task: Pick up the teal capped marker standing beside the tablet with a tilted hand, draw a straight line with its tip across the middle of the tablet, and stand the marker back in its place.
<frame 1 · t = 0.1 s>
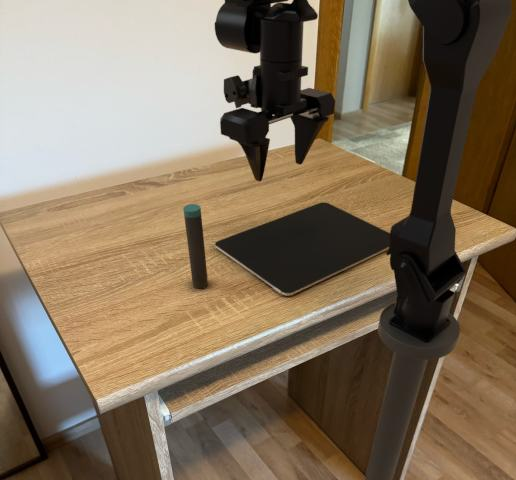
hand: (279, 171, 76), 13 cm above the table, tool pointing down, fingers open, 9 cm apart
teal capped marker: (200, 285, 76), on the table
tablet: (307, 245, 85), on the table
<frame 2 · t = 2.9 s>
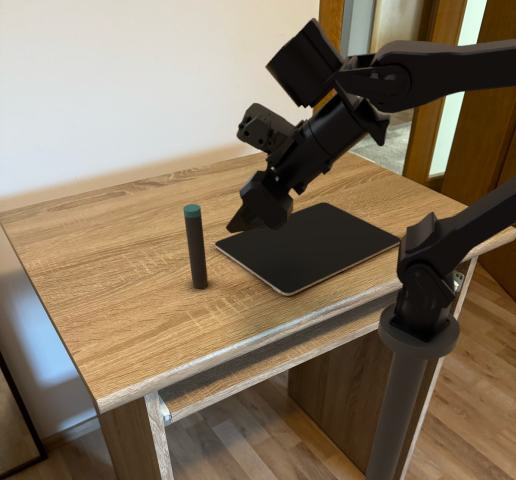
hand: (238, 214, 67), 13 cm above the table, tool tilted 45°, fingers open, 9 cm apart
nothing on the table moved.
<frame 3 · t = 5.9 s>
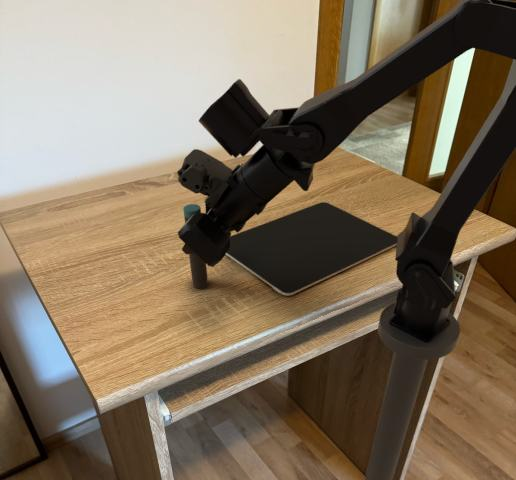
hand: (187, 247, 72), 7 cm above the table, tool tilted 45°, fingers closed on teal capped marker, 2 cm apart
teal capped marker: (200, 285, 76), on the table, touching gripper
everything else where it was.
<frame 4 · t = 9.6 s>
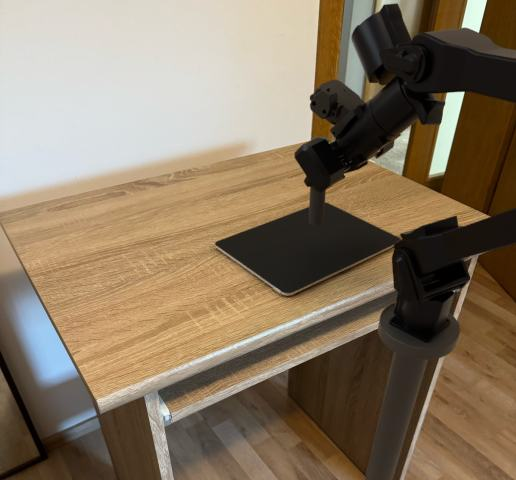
hand: (310, 181, 75), 13 cm above the table, tool tilted 45°, fingers closed on teal capped marker, 2 cm apart
teal capped marker: (316, 222, 78), point 6 cm above the table, touching gripper
everything else where it was.
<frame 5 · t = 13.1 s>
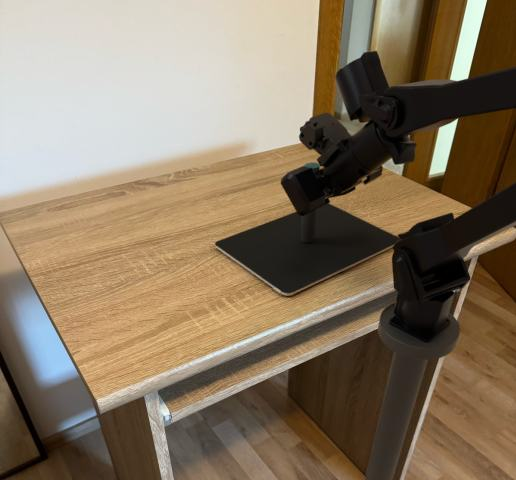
hand: (303, 201, 81), 8 cm above the table, tool tilted 45°, fingers closed on teal capped marker, 2 cm apart
teal capped marker: (307, 239, 85), point 1 cm above the table, touching gripper
everything else where it was.
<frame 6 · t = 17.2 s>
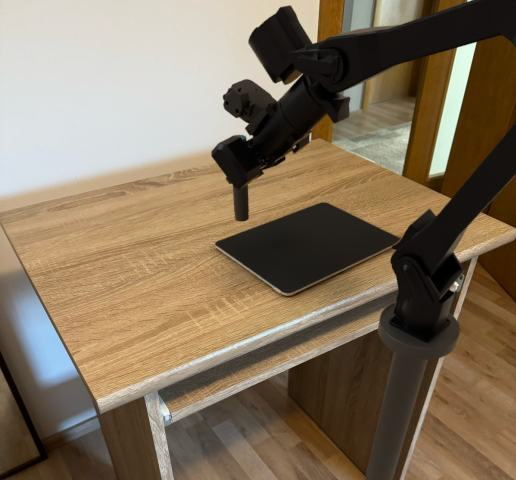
hand: (233, 178, 77), 13 cm above the table, tool tilted 45°, fingers closed on teal capped marker, 2 cm apart
teal capped marker: (241, 218, 80), point 6 cm above the table, touching gripper
everything else where it was.
when the fingers open (7 cm above the table, at t = 20.6 s): teal capped marker stays where it is, on the table.
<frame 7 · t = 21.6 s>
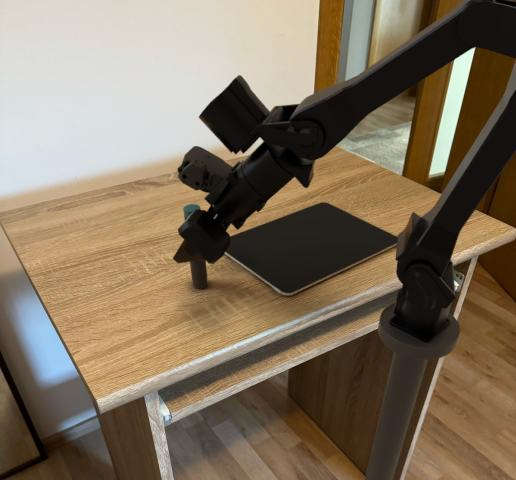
hand: (187, 244, 72), 7 cm above the table, tool tilted 45°, fingers open, 9 cm apart
teal capped marker: (200, 285, 76), on the table
everything else where it was.
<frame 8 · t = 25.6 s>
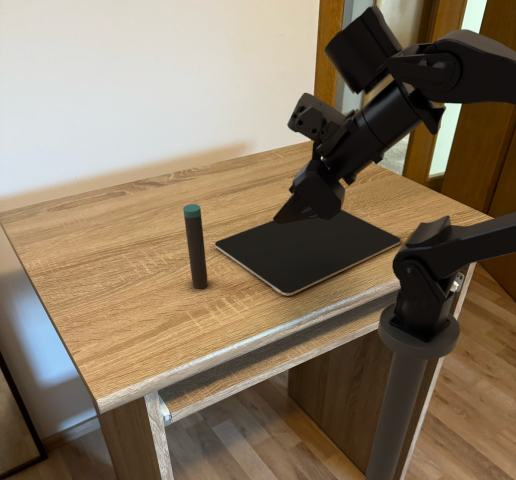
hand: (283, 206, 67), 14 cm above the table, tool tilted 45°, fingers open, 9 cm apart
nothing on the table moved.
at the end: teal capped marker 0.0 cm from the target spot, on the table; teal capped marker tilted 0°; tablet moved 0.0 cm from its start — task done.
